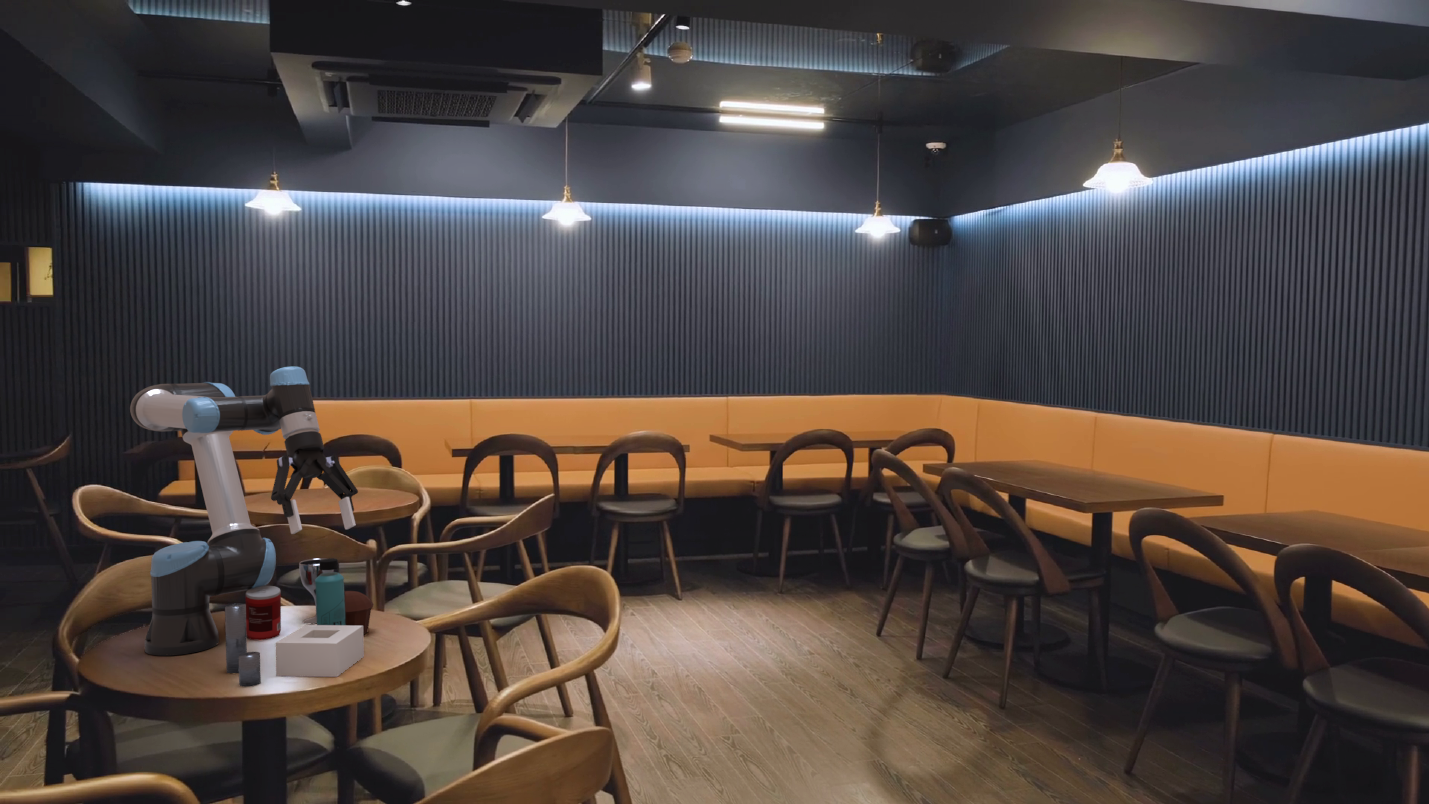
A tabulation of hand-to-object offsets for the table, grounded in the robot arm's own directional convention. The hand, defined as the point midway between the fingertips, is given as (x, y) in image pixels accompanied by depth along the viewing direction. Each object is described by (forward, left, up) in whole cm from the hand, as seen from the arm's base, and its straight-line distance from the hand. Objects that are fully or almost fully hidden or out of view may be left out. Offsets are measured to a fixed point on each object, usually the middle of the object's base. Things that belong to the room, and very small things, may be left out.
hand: (324, 529), depth 217 cm
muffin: (-7, +27, -30) cm, 41 cm away
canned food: (-27, +25, -30) cm, 47 cm away
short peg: (-12, -10, -30) cm, 34 cm away
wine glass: (-20, +39, -30) cm, 53 cm away
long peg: (-19, -2, -30) cm, 35 cm away
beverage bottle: (-7, +18, -30) cm, 36 cm away
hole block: (-2, +2, -30) cm, 30 cm away
